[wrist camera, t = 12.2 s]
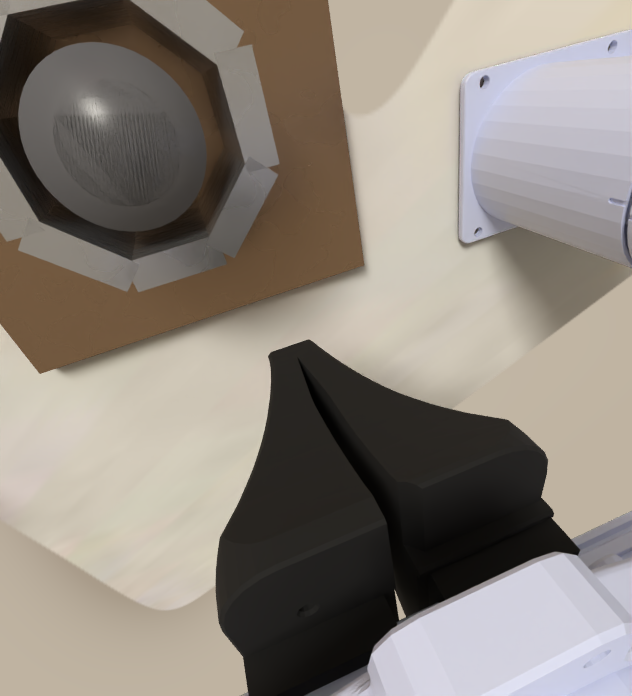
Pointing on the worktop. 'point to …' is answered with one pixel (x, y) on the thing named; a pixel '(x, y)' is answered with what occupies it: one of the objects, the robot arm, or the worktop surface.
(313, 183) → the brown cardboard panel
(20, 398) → the worktop surface
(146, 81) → the grey short cylinder
